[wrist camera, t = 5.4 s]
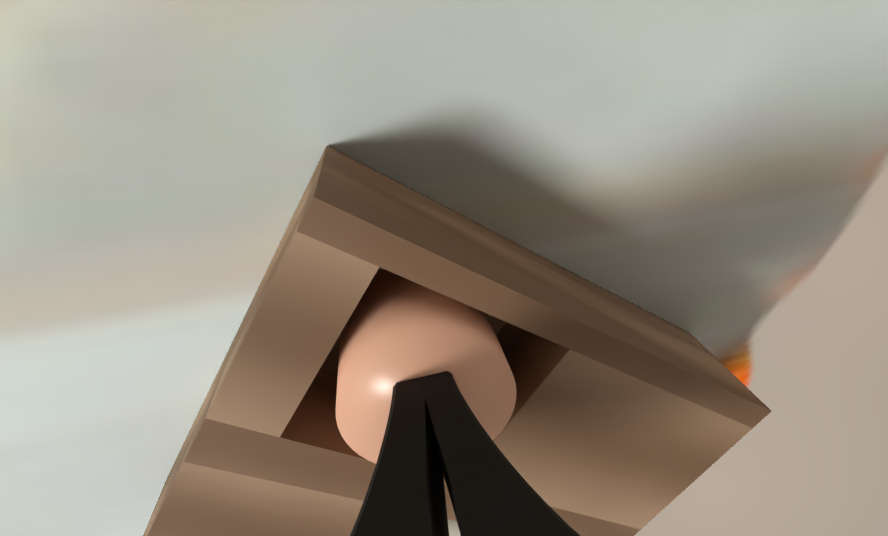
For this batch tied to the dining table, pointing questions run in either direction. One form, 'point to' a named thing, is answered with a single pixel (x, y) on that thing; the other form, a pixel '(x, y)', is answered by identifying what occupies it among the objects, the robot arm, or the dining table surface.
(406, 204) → the wooden egg crate
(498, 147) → the dining table surface
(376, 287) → the peach egg
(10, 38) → the dining table surface
